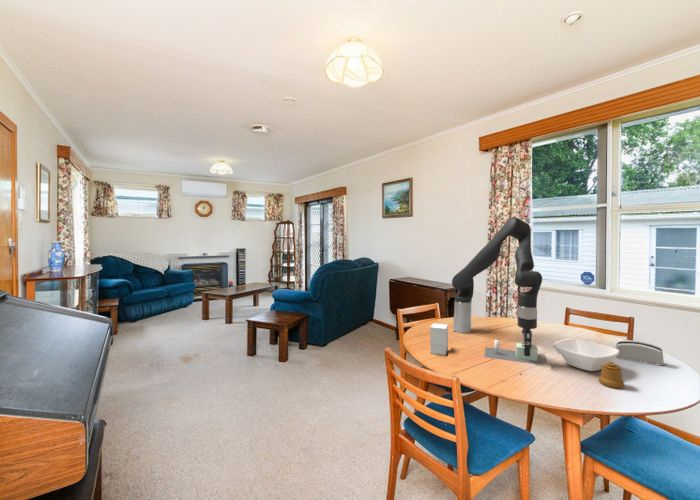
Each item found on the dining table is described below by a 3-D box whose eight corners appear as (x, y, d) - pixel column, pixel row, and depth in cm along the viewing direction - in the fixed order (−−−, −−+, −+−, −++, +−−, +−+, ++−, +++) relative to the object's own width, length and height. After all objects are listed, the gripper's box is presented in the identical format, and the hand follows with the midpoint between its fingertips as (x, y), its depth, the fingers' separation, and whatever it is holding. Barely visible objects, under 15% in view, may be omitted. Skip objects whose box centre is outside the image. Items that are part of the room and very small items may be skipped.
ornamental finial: (596, 384, 125) (601, 378, 130) (621, 391, 120) (625, 385, 125) (596, 363, 125) (602, 358, 130) (622, 369, 119) (626, 364, 124)
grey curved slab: (663, 362, 146) (664, 343, 143) (663, 369, 143) (665, 349, 140) (614, 354, 157) (614, 335, 153) (613, 360, 153) (614, 341, 150)
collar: (516, 358, 147) (516, 346, 147) (515, 353, 153) (516, 342, 153) (537, 360, 144) (537, 349, 144) (535, 356, 150) (536, 345, 150)
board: (484, 360, 149) (484, 343, 149) (485, 350, 162) (485, 334, 161) (541, 368, 140) (541, 350, 140) (537, 356, 153) (537, 340, 153)
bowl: (598, 381, 128) (599, 359, 127) (545, 363, 146) (546, 343, 146) (626, 371, 137) (627, 350, 137) (573, 354, 156) (573, 336, 155)
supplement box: (448, 350, 162) (448, 324, 161) (445, 355, 155) (446, 328, 154) (432, 348, 165) (433, 322, 164) (429, 353, 158) (430, 326, 157)
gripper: (516, 312, 156) (516, 346, 156) (518, 319, 143) (517, 357, 143) (535, 313, 153) (534, 348, 153) (538, 321, 140) (537, 359, 140)
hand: (526, 352), depth 148 cm, fingers open, 8 cm apart
